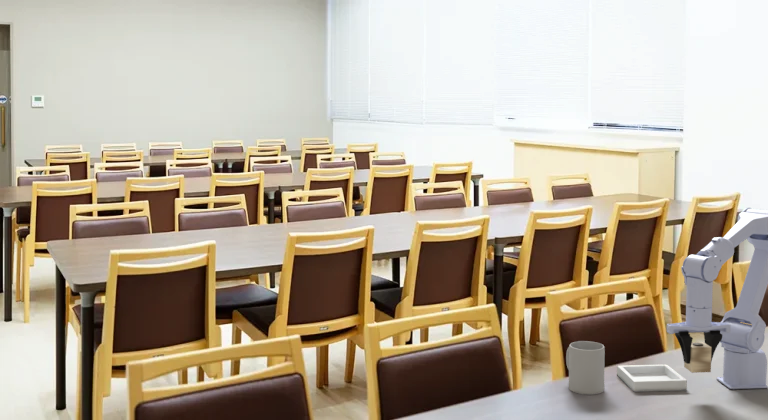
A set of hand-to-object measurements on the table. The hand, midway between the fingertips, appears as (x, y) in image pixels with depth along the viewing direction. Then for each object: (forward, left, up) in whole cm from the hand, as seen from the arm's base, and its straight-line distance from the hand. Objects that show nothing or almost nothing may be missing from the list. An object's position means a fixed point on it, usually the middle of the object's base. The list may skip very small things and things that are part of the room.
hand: (697, 362), depth 198 cm
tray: (+7, -11, -8) cm, 16 cm away
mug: (+25, -9, -9) cm, 28 cm away
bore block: (0, 0, -2) cm, 2 cm away
